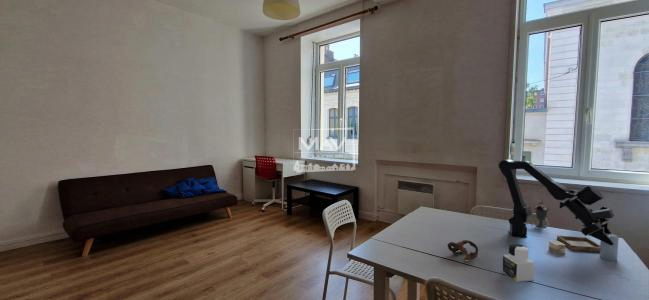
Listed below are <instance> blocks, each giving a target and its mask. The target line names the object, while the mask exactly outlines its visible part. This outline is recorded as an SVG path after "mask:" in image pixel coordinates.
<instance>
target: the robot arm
mask: <svg viewBox="0 0 649 300" xmlns="http://www.w3.org/2000/svg"><path fill="white" fill-rule="evenodd" d="M498 169H499V170H500V172H501V174H502V175H503V176H504V177H505V180H506V183H507V186H508V190H509V193H510V196H511V199H512V203H513V210H512V213H513V216H512V217H511V218H508V223H509V230H508V231H507V232H508V233H509V234H510V235H511V236H512V237H519V238H528V236H527V235H528V227H527V224H526V223H527V222H528V221H529V220H531V218H532V217H533V214H534V213H533V212H532V209H531V206H530V205H528V206H527V205H526V203H525V201H524V198H523V195H522V191H521V187H520V185H519V183H518V179H517V170H524V171H525V172H526V173H528V174H529V175H530V176H532V177H533V178H534V179H535V180H536V181H537V182H539V183H540V184H541V185H542V186H544V187H545V188H546V190H547V192H548V193H549V194H550V195H551V196H552V198H553V199H555V200H557V201H559V208H560V209H562V208H564V207H565V208H567V210H569V212H571V214H573V216H575V217H574V219H576V220H579V221H580V222H581V224H583V225H582V228H581V231H580V232H581V233H582V234H583V236H584V237H587V236H588V237H589V236H590V237H592V238H595V239H596V240H599V241H603V242H605V243H607V244H609V245H613V242H612V241H611V240H610V238H609V237H608V236H607V235H606V234H605V233H609V234H613V233H612V232H611V230H610V228H609V224H610V223H609V220H610V219H612V218H614V217H615V215H614V212H613V209H611V208H610V207H607V206H604V205H603V206H600V208H599V209H597V210H593V208H589V207H587V206H586V205H588V206H592V205H594V204H596V203H597V202H599V201H602V199H604V195H603V194H602V193H601V192H600V191H599V190H597V189H595V188H594V187H592V186H590V185H587V186H585V187H584V188H582V189H581V190H580V191H578V190H574V189H570V188H569V187H568V186H565V184H564V185H563V184H562V183H560V182H559V181H556V180H554V179H552V178H551V177H550V176H548V174H546V173H545V172H543V171H542V170H541V169H539V168H538V167H537V166H536V165H534V164H533V163H532V162H531V161H529V160H523V161H522V160H513V159H511V158H510V159H509V158H508V159H502V160H500V162H499V163H498ZM573 198H574V199H573ZM564 200H565V201H564Z"/></svg>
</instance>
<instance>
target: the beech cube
mask: <svg viewBox="0 0 649 300" xmlns="http://www.w3.org/2000/svg"><path fill="white" fill-rule="evenodd" d="M566 247H567V246H566V245H565V244H563V243H561V242H560V241H558V240H555V241H554V240H549V241H548V250H549V251H551V252H552V253H554V254H557V255H558V254H563V255H564V254H566Z"/></svg>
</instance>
